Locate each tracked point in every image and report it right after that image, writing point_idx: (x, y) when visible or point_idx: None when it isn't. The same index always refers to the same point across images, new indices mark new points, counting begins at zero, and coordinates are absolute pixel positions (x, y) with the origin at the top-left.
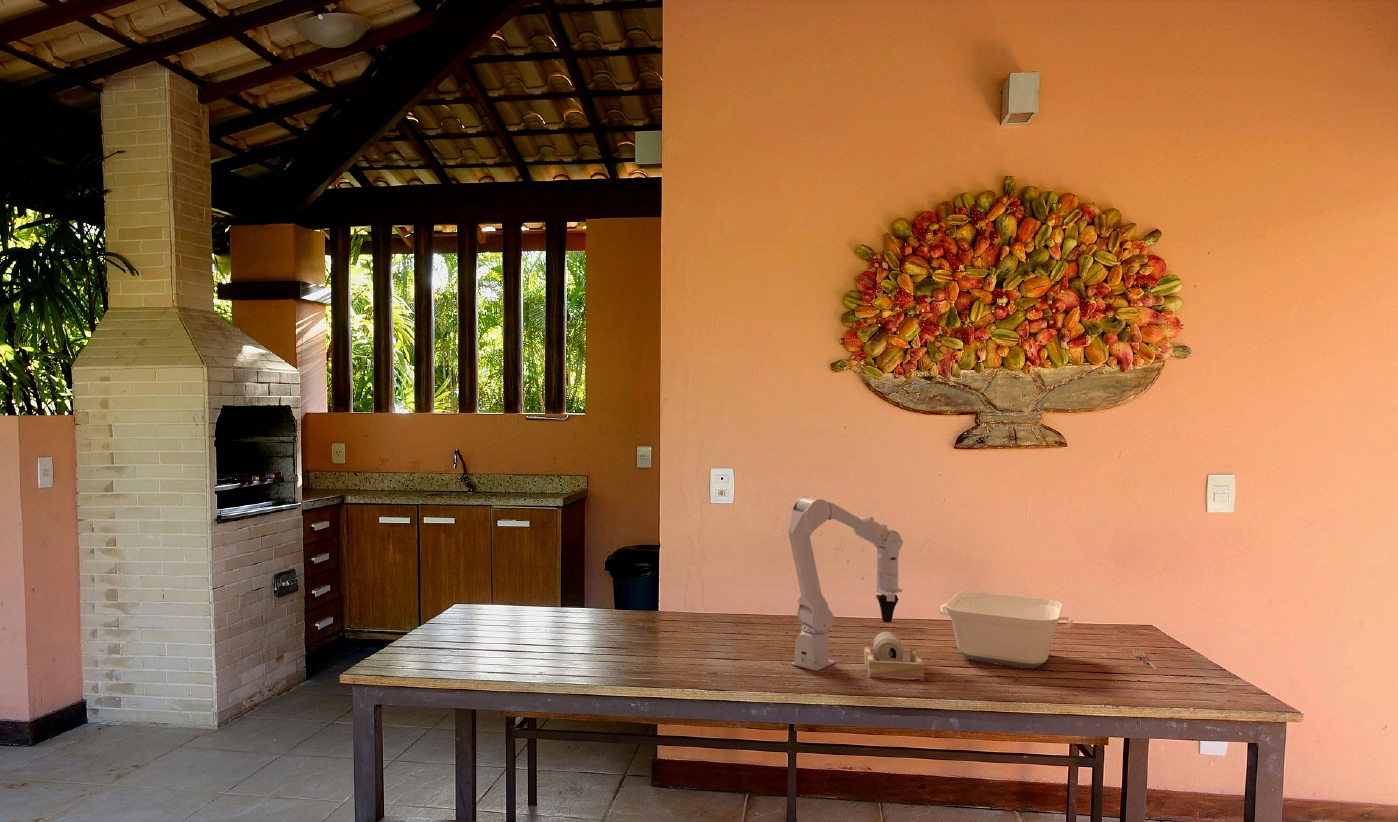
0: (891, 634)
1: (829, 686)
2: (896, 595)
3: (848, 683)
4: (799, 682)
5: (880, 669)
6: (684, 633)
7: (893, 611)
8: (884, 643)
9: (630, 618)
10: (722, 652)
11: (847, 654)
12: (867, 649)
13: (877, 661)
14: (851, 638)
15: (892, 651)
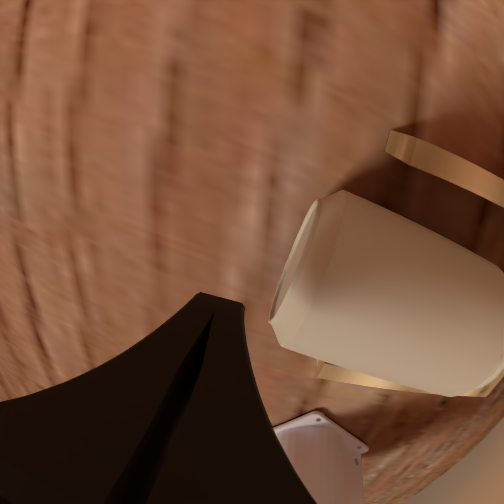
0: (395, 321)
1: (462, 433)
2: (1, 492)
3: (470, 406)
4: (414, 465)
5: None
6: None
7: (254, 383)
8: (485, 382)
9: None
10: None
11: None
12: (365, 378)
13: (496, 377)
14: (31, 262)
15: (309, 222)
